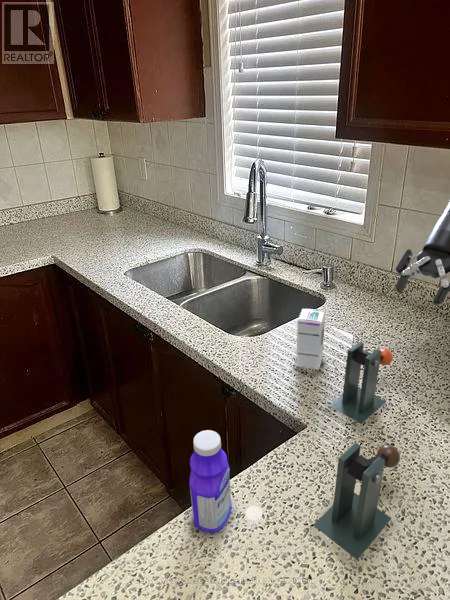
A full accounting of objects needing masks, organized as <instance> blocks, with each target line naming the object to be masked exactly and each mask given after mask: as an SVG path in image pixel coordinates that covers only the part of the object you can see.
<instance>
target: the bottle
mask: <svg viewBox="0 0 450 600" xmlns="http://www.w3.org/2000/svg"><path fill="white" fill-rule="evenodd" d="M192 443H193V453H192V454H191V456H190V459H189V466H190V474H189V484H188V485H189V492H190V501H191V510H192V521H193V524H194V526H195V527H196V528H197V529H199V530H201V531H204V532H208V533H211V534H213V533H217V532H220V531H221V530H222V529H223V528H224V527H225V526H226V523H228V520H229V518H230V516H231V511H232V497H231V496H232V495H231V479H230V477H231V476H230V475H231V474H230V472H231V471H230V469H231V468H230V465H229V463H228V456H227V454H226V452H225V450H224V449H222V439H221V436H220V434H219V433H218V432H217V431H214V430H211V429H206V430H201V431H200V432H197V433H196V434H195V435H194V437H193V442H192Z"/></svg>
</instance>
